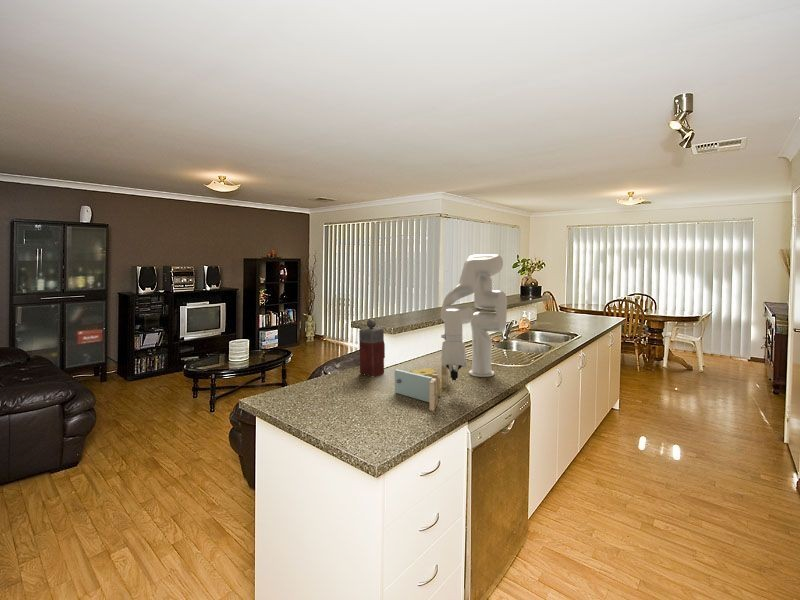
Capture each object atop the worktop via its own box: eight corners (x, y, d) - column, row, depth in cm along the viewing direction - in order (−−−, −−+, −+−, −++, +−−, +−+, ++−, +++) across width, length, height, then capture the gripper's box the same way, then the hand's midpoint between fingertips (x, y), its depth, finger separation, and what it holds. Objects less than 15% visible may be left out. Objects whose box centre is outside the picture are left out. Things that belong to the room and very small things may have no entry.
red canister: (387, 372, 222) (386, 318, 220) (373, 377, 213) (372, 321, 211) (374, 369, 228) (373, 317, 225) (359, 374, 219) (358, 319, 216)
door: (434, 401, 174) (434, 376, 174) (428, 403, 172) (428, 378, 171) (399, 391, 188) (399, 368, 188) (392, 393, 186) (392, 370, 185)
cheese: (441, 395, 182) (440, 372, 182) (417, 399, 178) (417, 375, 178) (430, 389, 192) (430, 367, 191) (408, 392, 188) (407, 369, 187)
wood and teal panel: (444, 382, 203) (444, 357, 202) (448, 382, 202) (448, 357, 201) (429, 410, 164) (428, 379, 163) (434, 410, 164) (434, 380, 163)
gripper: (434, 339, 181) (435, 381, 183) (470, 340, 177) (470, 383, 179) (437, 335, 188) (438, 376, 190) (472, 336, 184) (472, 377, 186)
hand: (454, 379), depth 185 cm, fingers closed
